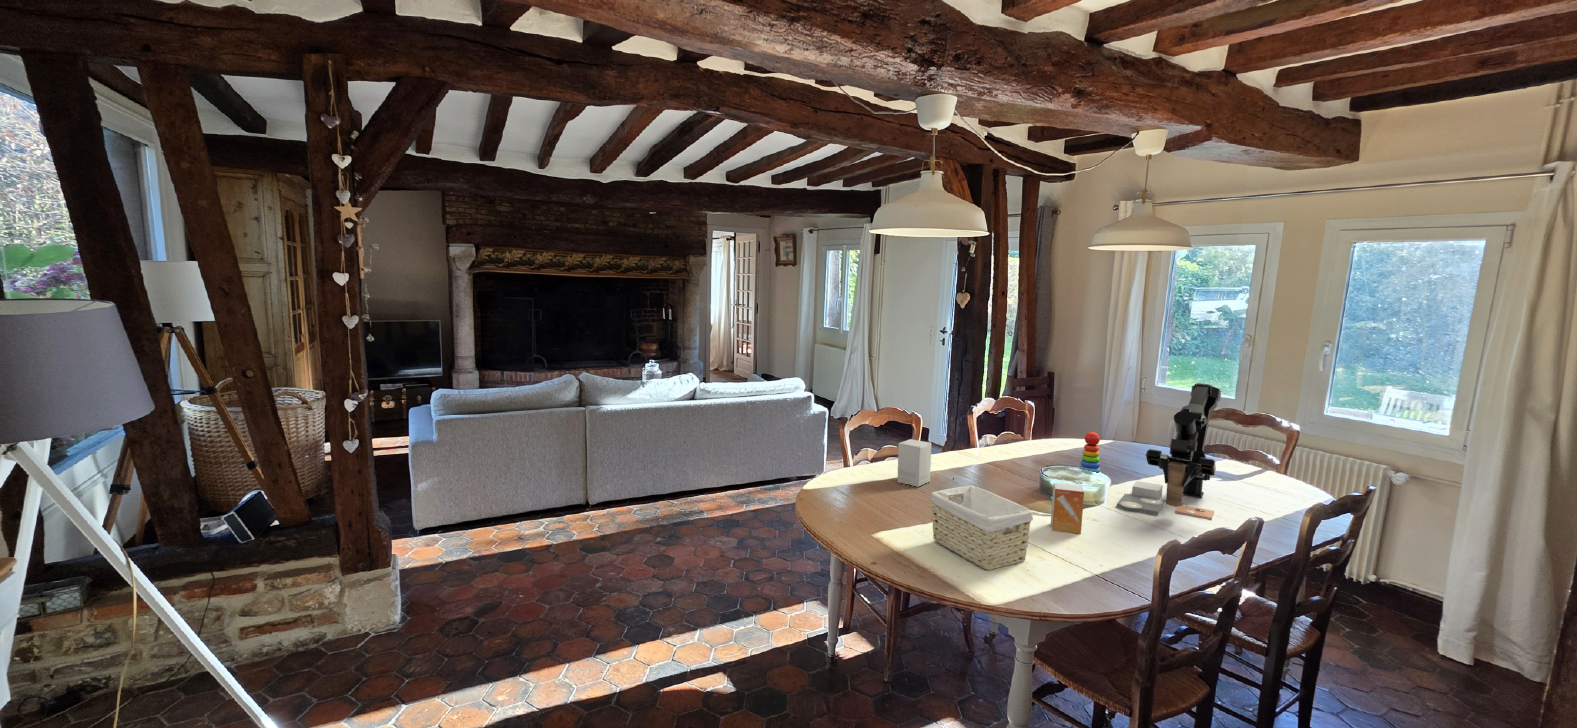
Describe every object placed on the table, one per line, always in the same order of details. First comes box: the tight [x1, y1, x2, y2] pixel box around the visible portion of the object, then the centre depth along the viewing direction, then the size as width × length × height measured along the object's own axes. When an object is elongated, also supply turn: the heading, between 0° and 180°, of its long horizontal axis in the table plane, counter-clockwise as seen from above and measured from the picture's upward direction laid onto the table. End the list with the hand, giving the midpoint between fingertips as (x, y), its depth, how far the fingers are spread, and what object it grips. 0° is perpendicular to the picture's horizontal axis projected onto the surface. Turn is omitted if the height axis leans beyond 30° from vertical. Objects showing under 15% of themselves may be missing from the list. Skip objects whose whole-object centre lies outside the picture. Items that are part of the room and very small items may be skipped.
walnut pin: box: [1165, 462, 1185, 507], centre depth 207 cm, size 4×4×13 cm
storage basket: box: [929, 484, 1034, 571], centre depth 180 cm, size 24×16×15 cm
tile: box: [1174, 504, 1215, 520], centre depth 214 cm, size 8×10×1 cm
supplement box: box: [897, 438, 932, 487], centre depth 241 cm, size 9×9×15 cm
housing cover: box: [1131, 480, 1163, 500], centre depth 228 cm, size 8×8×4 cm
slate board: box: [1116, 493, 1165, 516], centre depth 219 cm, size 15×12×1 cm
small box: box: [1050, 482, 1085, 535], centre depth 198 cm, size 8×6×13 cm
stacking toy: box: [1079, 431, 1101, 473], centre depth 244 cm, size 8×8×19 cm
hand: (1174, 484), depth 206 cm, fingers closed on walnut pin, 4 cm apart
